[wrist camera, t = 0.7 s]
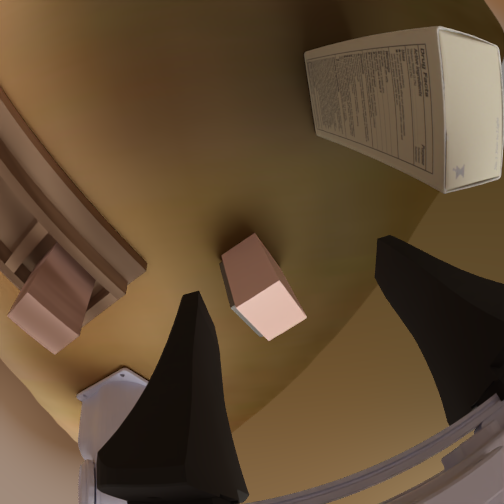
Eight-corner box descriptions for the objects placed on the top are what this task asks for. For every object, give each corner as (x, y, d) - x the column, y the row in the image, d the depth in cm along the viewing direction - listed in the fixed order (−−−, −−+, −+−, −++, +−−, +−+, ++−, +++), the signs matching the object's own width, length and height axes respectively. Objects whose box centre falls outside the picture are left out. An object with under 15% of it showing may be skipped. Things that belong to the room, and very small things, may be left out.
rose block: (245, 290, 25) (263, 343, 20) (216, 258, 22) (230, 311, 17) (280, 267, 24) (307, 317, 19) (254, 232, 22) (279, 280, 17)
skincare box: (365, 128, 20) (501, 184, 9) (312, 136, 19) (442, 201, 9) (356, 47, 16) (503, 46, 6) (298, 48, 16) (438, 24, 6)
